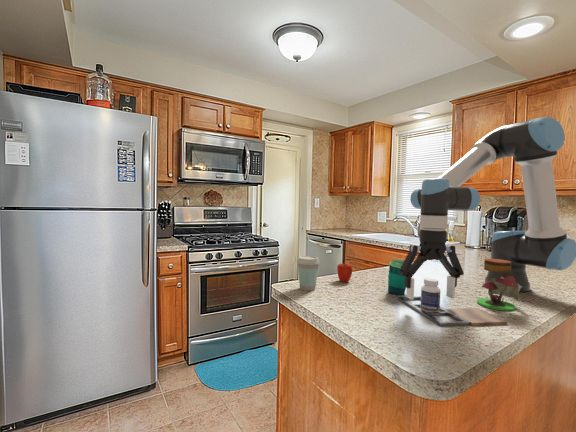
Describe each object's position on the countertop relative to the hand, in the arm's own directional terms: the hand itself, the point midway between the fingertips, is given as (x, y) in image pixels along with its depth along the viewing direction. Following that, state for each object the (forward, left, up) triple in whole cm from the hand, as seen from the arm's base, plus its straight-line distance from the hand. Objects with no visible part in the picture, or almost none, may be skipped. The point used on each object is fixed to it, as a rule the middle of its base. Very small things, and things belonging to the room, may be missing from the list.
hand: (430, 297), depth 93 cm
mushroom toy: (-26, -3, -4) cm, 26 cm away
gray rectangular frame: (0, 0, -4) cm, 4 cm away
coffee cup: (+33, -27, -4) cm, 43 cm away
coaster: (-10, +6, -4) cm, 13 cm away
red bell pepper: (+15, -37, -4) cm, 40 cm away
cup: (0, -19, -4) cm, 19 cm away
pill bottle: (0, 0, -4) cm, 4 cm away
